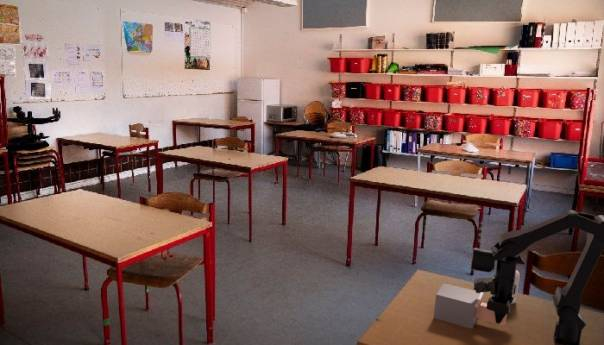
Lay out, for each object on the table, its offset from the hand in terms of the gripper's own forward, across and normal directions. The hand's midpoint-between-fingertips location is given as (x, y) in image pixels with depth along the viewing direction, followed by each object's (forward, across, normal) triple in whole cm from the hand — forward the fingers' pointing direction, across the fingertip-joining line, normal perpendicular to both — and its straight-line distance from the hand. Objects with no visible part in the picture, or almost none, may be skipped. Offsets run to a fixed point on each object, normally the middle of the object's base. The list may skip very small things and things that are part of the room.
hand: (498, 321), depth 155 cm
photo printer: (+3, -19, -1) cm, 19 cm away
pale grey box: (+2, 0, -13) cm, 13 cm away
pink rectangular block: (0, 0, -6) cm, 6 cm away
